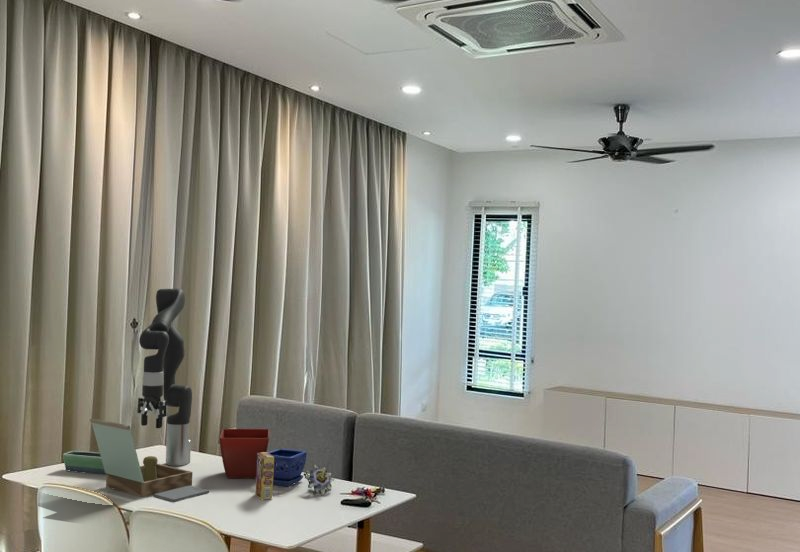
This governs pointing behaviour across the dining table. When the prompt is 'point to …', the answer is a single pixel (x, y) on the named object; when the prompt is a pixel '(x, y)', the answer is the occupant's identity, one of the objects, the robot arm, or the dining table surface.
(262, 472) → the candy box
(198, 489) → the mat
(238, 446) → the plant pot
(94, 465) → the planter
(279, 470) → the flower pot
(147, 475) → the cork
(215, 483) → the dining table surface
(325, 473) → the passion flower
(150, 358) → the robot arm
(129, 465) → the lid
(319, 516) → the dining table surface
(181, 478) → the cold frame
